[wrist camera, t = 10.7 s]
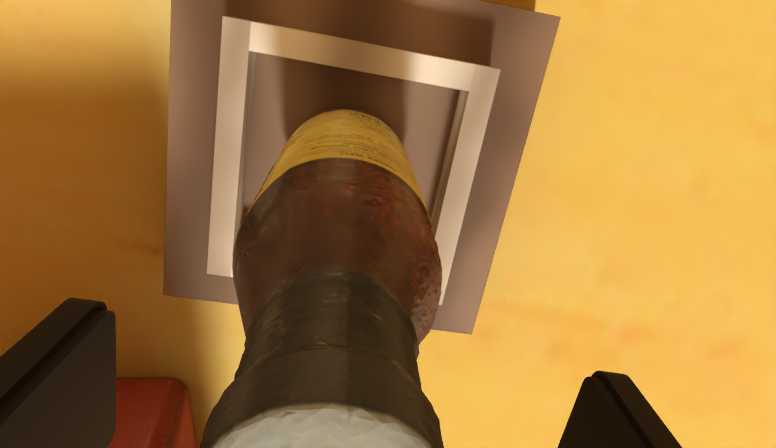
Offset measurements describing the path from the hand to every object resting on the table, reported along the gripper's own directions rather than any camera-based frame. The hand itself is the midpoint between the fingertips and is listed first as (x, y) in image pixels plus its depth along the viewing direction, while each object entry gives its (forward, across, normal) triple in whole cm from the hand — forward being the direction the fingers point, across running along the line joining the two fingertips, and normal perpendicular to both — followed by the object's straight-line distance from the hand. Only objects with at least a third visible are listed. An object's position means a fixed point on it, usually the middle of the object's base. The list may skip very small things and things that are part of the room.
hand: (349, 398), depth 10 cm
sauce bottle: (+18, +1, 0) cm, 18 cm away
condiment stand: (+21, +1, 0) cm, 21 cm away
